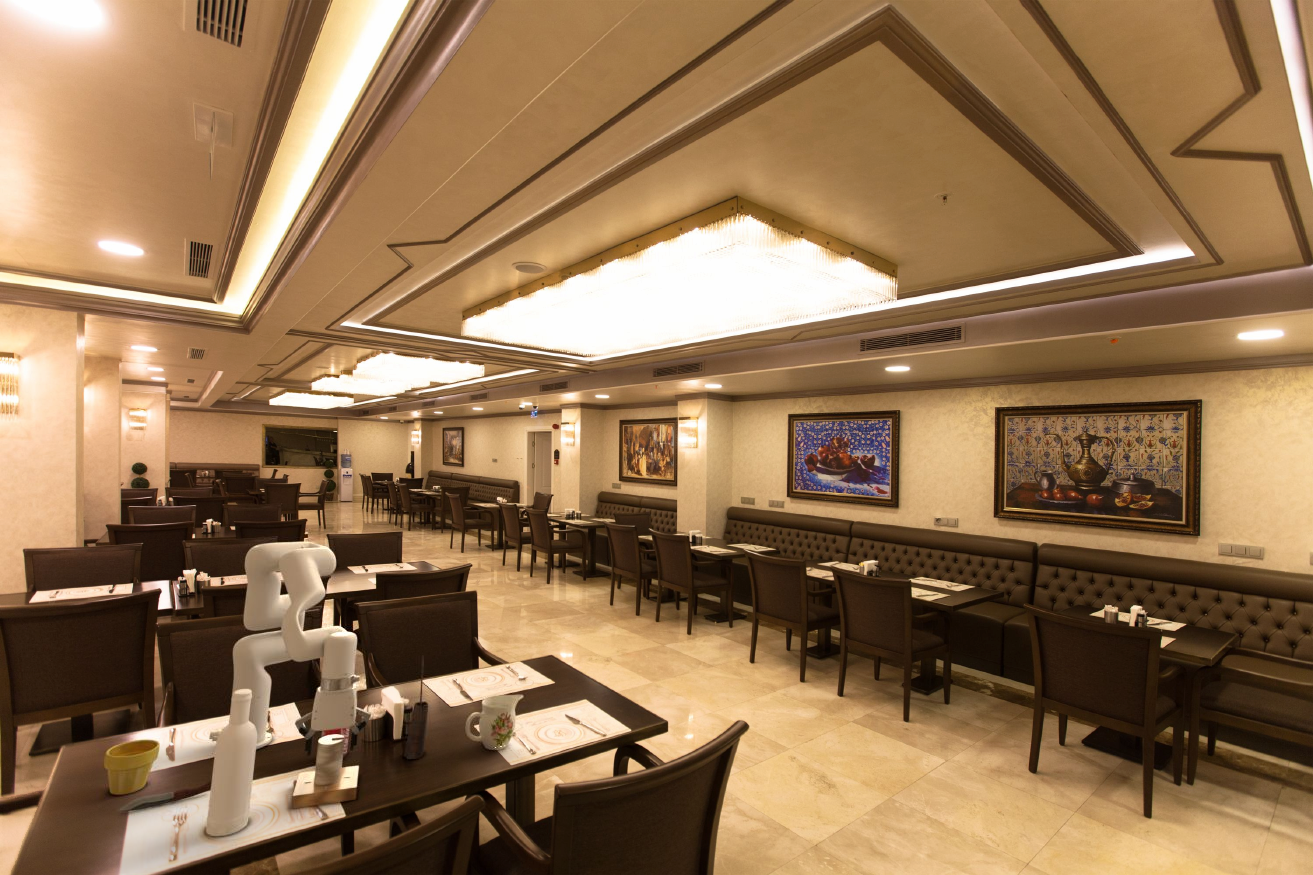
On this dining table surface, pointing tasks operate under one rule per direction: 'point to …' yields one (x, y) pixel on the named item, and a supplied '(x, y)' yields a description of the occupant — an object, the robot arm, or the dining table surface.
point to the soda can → (342, 732)
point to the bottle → (233, 770)
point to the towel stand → (325, 789)
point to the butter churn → (417, 727)
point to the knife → (164, 798)
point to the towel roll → (329, 759)
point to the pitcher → (495, 721)
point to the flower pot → (130, 765)
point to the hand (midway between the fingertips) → (331, 750)
